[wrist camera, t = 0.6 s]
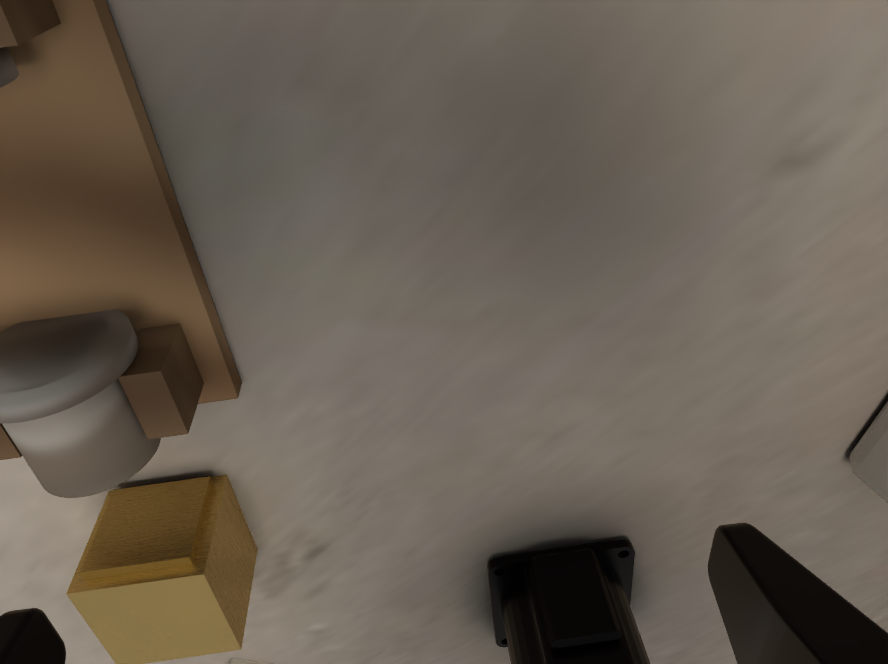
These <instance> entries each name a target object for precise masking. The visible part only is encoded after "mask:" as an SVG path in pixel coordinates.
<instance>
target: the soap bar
mask: <svg viewBox="0 0 888 664" xmlns="http://www.w3.org/2000/svg"><path fill="white" fill-rule="evenodd" d="M230 664H271V663H264V662H256V661H249V660H242V659H234V658H232V659H231V662H230Z"/></svg>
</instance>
